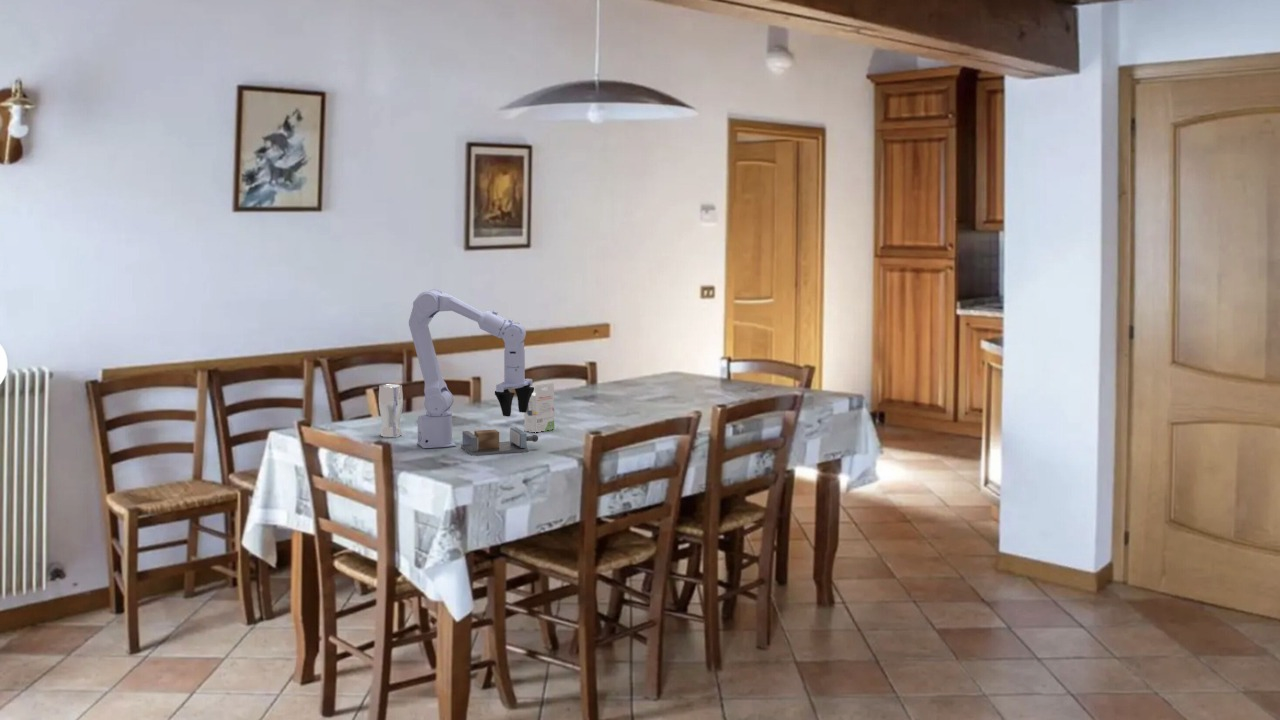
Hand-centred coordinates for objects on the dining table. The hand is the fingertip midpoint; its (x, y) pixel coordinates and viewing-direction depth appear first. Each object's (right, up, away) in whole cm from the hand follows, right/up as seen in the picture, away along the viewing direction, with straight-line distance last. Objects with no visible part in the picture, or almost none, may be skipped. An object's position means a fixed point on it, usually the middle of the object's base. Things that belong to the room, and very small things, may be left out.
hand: (514, 414), depth 322 cm
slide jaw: (+3, -9, +1) cm, 9 cm away
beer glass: (-38, -7, +15) cm, 42 cm away
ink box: (+5, -7, +27) cm, 28 cm away
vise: (-5, -10, -2) cm, 11 cm away
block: (-7, -9, -3) cm, 12 cm away
